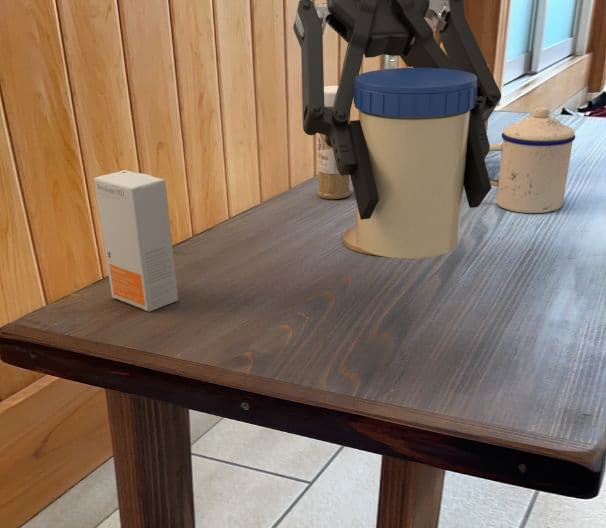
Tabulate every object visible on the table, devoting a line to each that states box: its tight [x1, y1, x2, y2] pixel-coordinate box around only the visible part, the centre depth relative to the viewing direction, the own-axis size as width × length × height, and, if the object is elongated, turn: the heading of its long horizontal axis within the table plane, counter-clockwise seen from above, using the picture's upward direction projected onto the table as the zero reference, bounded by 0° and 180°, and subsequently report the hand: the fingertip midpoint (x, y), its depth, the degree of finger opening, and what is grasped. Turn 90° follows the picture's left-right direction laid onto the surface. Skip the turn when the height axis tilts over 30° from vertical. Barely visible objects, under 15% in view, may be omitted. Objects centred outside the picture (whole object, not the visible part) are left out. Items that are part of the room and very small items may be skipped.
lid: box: [353, 67, 478, 117], centre depth 64 cm, size 9×9×2 cm
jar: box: [356, 110, 470, 260], centre depth 67 cm, size 8×8×12 cm
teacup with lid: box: [489, 106, 576, 214], centre depth 110 cm, size 12×9×12 cm
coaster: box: [342, 224, 380, 257], centre depth 102 cm, size 12×12×1 cm
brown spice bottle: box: [317, 85, 351, 200], centre depth 114 cm, size 5×5×14 cm
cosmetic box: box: [93, 169, 179, 313], centre depth 84 cm, size 6×4×12 cm
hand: (425, 203), depth 65 cm, fingers closed on jar, 8 cm apart
